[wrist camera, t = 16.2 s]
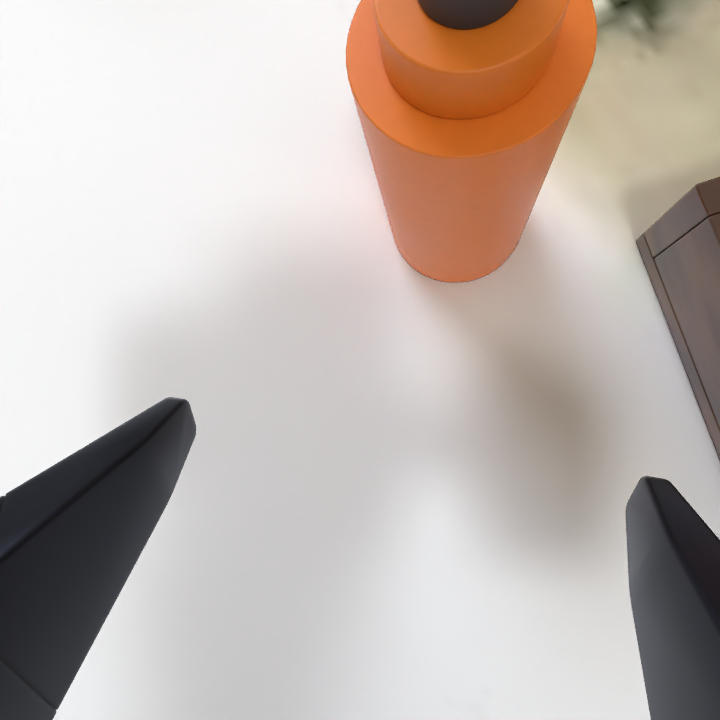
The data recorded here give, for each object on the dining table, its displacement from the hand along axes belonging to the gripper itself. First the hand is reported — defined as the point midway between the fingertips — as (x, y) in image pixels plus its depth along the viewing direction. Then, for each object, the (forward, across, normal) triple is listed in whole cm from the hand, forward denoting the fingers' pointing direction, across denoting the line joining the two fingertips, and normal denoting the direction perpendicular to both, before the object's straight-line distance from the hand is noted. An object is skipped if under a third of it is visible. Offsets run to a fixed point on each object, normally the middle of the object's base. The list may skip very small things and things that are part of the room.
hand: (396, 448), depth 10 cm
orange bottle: (+13, 0, +1) cm, 13 cm away
